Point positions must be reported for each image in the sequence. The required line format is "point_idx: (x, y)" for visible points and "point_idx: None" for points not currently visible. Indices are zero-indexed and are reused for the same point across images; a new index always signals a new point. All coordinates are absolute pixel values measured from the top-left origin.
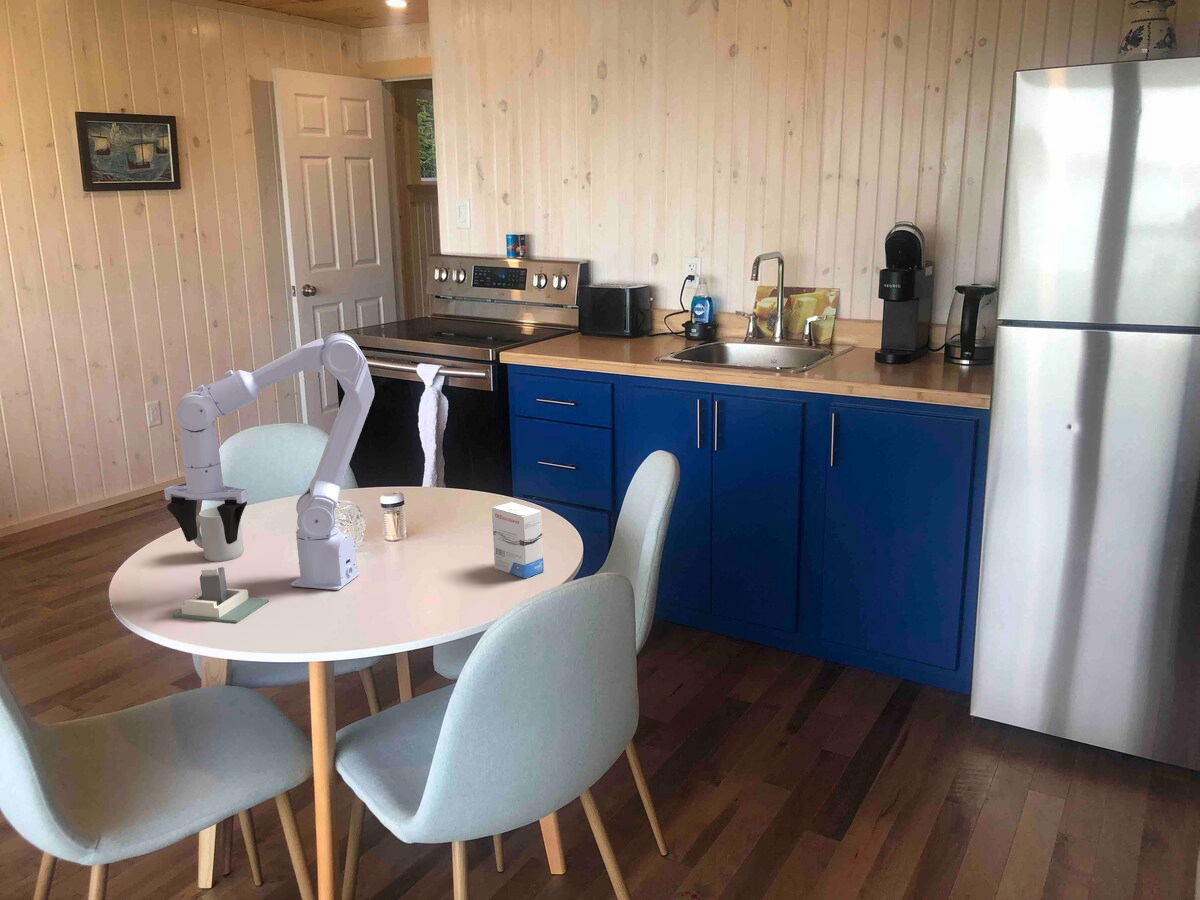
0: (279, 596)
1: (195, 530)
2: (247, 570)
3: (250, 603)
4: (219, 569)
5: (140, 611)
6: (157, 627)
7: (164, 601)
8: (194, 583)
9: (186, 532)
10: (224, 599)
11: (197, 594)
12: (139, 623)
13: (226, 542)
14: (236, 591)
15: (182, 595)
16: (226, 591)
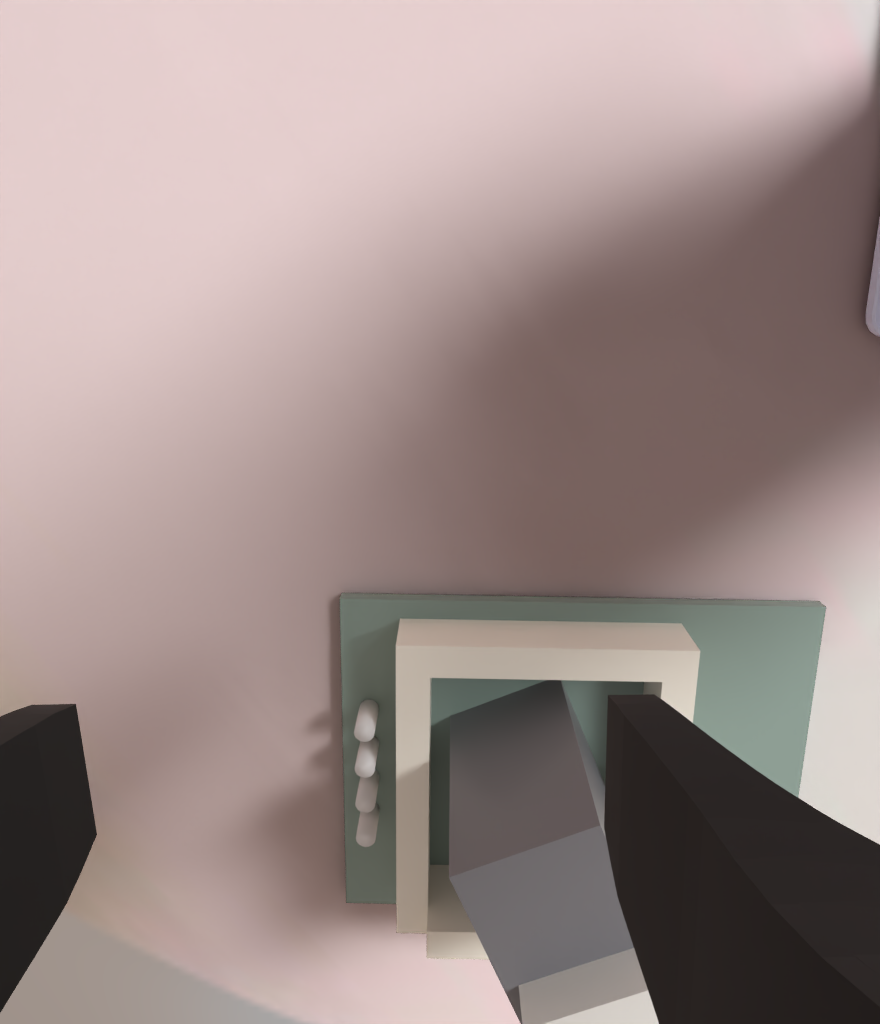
0: (853, 507)
1: (23, 777)
2: (312, 49)
3: (737, 690)
4: (590, 874)
5: (102, 859)
6: (362, 1007)
7: (127, 715)
8: (87, 404)
9: (26, 962)
10: (597, 773)
11: (361, 739)
12: (226, 984)
13: (608, 846)
14: (625, 678)
15: (168, 612)
16: (573, 721)
